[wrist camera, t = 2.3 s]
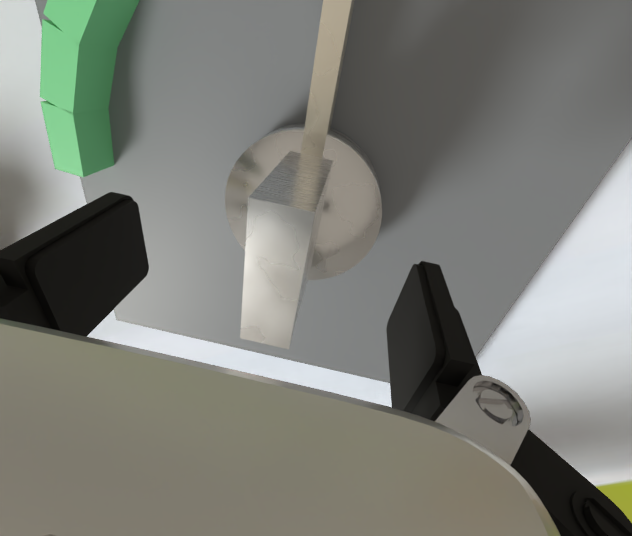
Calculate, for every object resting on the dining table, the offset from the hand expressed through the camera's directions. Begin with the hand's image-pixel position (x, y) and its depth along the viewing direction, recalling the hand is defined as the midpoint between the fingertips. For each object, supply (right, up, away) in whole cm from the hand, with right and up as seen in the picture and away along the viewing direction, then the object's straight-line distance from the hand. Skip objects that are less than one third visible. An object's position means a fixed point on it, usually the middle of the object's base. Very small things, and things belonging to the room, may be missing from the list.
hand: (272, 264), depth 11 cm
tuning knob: (+2, +6, +5) cm, 8 cm away
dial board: (+1, +5, +8) cm, 10 cm away
